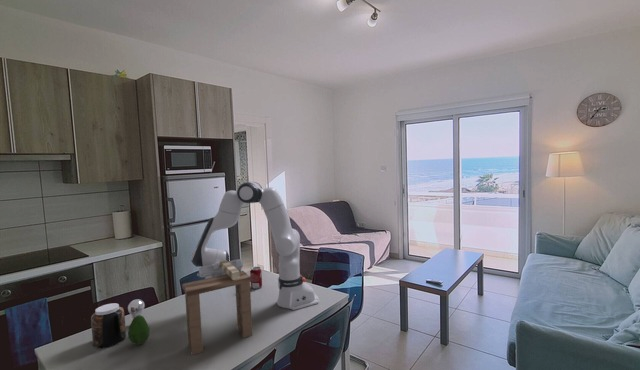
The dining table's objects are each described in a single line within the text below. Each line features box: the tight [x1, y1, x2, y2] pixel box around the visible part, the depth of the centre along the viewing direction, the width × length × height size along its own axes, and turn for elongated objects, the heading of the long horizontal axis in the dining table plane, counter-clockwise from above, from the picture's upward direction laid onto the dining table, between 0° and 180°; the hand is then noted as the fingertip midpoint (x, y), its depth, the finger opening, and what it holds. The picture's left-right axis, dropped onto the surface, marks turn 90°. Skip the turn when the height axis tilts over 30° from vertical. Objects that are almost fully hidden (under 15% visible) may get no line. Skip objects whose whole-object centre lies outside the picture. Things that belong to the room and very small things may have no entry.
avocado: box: [127, 315, 151, 345], centre depth 134 cm, size 8×8×12 cm
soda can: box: [249, 266, 263, 290], centre depth 191 cm, size 7×7×12 cm
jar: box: [90, 302, 127, 349], centre depth 136 cm, size 12×12×15 cm
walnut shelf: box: [182, 270, 253, 356], centre depth 134 cm, size 10×26×26 cm, turn 123°
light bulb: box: [127, 298, 146, 320], centre depth 150 cm, size 7×7×12 cm
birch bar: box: [219, 259, 240, 280], centre depth 139 cm, size 20×3×3 cm, turn 33°
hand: (224, 263), depth 145 cm, fingers closed on birch bar, 3 cm apart
